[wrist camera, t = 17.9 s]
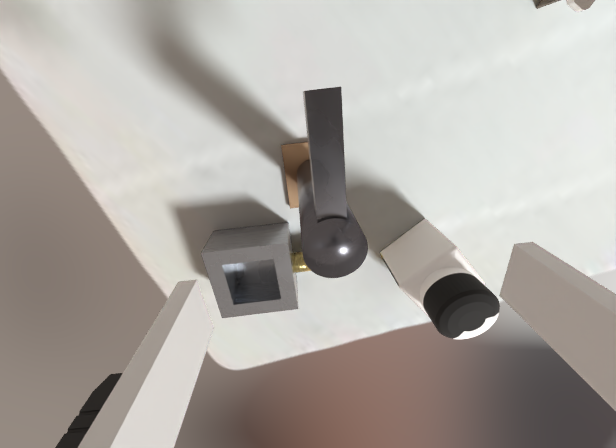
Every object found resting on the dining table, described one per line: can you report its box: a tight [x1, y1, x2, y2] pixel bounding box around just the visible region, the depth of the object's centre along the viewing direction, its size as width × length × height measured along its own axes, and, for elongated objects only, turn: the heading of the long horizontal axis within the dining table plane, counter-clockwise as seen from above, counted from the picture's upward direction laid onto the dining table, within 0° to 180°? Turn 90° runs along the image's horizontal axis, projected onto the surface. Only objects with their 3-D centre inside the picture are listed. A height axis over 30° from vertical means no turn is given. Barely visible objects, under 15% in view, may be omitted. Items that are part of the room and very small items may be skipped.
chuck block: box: [201, 222, 311, 318], centre depth 32 cm, size 9×16×5 cm, turn 96°
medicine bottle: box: [380, 219, 500, 339], centre depth 30 cm, size 7×7×12 cm
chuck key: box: [297, 87, 368, 278], centre depth 20 cm, size 10×4×16 cm, turn 6°
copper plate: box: [281, 142, 310, 208], centre depth 29 cm, size 7×6×1 cm
